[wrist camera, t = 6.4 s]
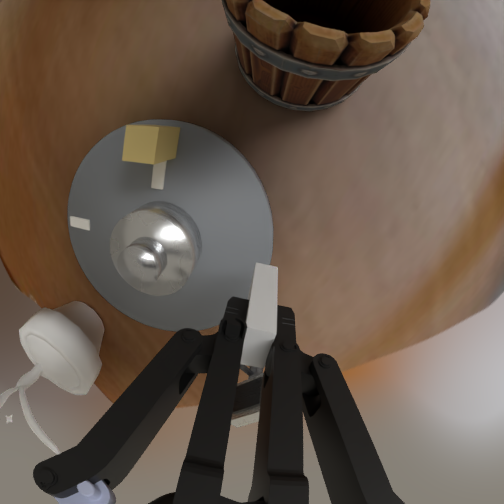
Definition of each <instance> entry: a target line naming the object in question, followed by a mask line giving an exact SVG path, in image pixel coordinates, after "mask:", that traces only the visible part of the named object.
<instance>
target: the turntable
mask: <svg viewBox="0 0 504 504" xmlns="http://www.w3.org/2000/svg"><path fill="white" fill-rule="evenodd" d="M153 201H165V202H169V203H172V204H175V205H177V206H179V207H180V208H182V209H183V210H185V211H186V212H187V213H188V214H189V215H190V216H191V217H192V219H193V220H194V221H195V223H196V225H197V227H198V229H199V231H200V234H201V239H202V252H201V256H200V258H199V261H198V263H197V264H196V266H195V268H194V270H193V271H192V273H191V275H190V277H189V278H188V280H187V282H186V283H185V285H184V286H183V287H182V288H181V289H180V290H178V291H176V292H175V293H172V294H169V295H165V296H153V295H149V294H145V293H143V292H140V291H138V290H137V289H135V288H133V287H132V286H131V285H129V284H128V283H127V282H126V281H125V280H124V279H123V278H122V277H121V275H120V274H119V273H118V271H117V269H116V268H115V266H114V263H113V261H112V257H111V253H110V238H111V234H112V231H113V229H114V227H115V226H116V224H117V223H118V222H119V221H120V220H121V219H122V218H123V217H125V216H126V215H128V214H129V213H131V212H132V211H134V210H136V209H137V208H139V207H140V206H142V205H144V204H146V203H149V202H153ZM68 227H69V234H70V239H71V243H72V246H73V249H74V252H75V255H76V258H77V260H78V262H79V264H80V266H81V268H82V270H83V272H84V273H85V275H86V277H87V278H88V280H89V281H90V282H91V284H92V285H93V286H94V288H95V289H96V290H97V291H98V292H99V293H100V294H101V296H102V297H103V298H105V299H106V300H107V301H108V302H109V303H110V304H111V305H112V306H114V307H115V308H116V309H118V310H119V311H120V312H122V313H124V314H125V315H127V316H128V317H130V318H132V319H134V320H136V321H138V322H140V323H143V324H145V325H148V326H151V327H154V328H158V329H162V330H168V331H179V330H180V329H184V328H191V329H195V330H197V331H198V330H203V329H207V328H211V327H214V326H217V325H219V324H220V321H221V320H222V318H223V317H224V313H225V310H226V306H227V302H228V300H229V299H230V298H231V297H233V296H234V297H238V298H243V299H247V300H248V294H249V290H250V286H251V282H252V278H253V273H254V269H255V265H256V262H257V263H261V264H266V265H270V262H271V257H272V251H273V219H272V211H271V207H270V203H269V200H268V196H267V194H266V191H265V189H264V186H263V184H262V182H261V180H260V178H259V177H258V175H257V173H256V171H255V170H254V168H253V167H252V166H251V164H250V163H249V162H248V160H247V159H246V158H245V157H244V156H243V155H242V154H241V153H240V152H239V151H238V150H237V149H236V148H235V147H234V146H233V145H232V144H231V143H229V142H228V141H227V140H225V139H224V138H222V137H221V136H220V135H218V134H216V133H214V132H212V131H210V130H208V129H206V128H204V127H201V126H198V125H195V124H192V123H188V122H182V121H176V120H154V119H152V120H145V121H138V122H135V123H131V124H128V125H125V126H123V127H121V128H119V129H117V130H115V131H113V132H111V133H110V134H108V135H107V136H105V137H104V138H103V139H101V140H100V141H99V142H98V143H97V144H96V145H95V146H94V147H93V148H92V149H91V150H90V151H89V153H88V154H87V155H86V156H85V158H84V159H83V161H82V163H81V164H80V166H79V168H78V170H77V172H76V174H75V177H74V179H73V182H72V186H71V190H70V194H69V201H68Z"/></svg>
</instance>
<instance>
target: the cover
mask: <svg viewBox="0 0 504 504" xmlns="http://www.w3.org/2000/svg"><path fill="white" fill-rule="evenodd" d="M201 252H202V239H201V234H200V231H199V229H198V227H197V225H196V223H195V221H194V220H193V219H192V217H191V216H190V215H189V214H188V213H187V212H186V211H185V210H183V209H182V208H180V207H179V206H177V205H175V204H172V203H169V202H165V201H153V202H149V203H146V204H144V205H142V206H140V207H139V208H137V209H136V210H134V211H132V212H131V213H129V214H128V215H126V216H125V217H123V218H122V219H121V220H120V221H119V222H118V223H117V224H116V226H115V227H114V229H113V231H112V234H111V238H110V253H111V257H112V261H113V263H114V266H115V268H116V269H117V271H118V273H119V274H120V275H121V277H122V278H123V279H124V280H125V281H126V282H127V283H128V284H129V285H131V286H132V287H133V288H135V289H137V290H138V291H140V292H143V293H145V294H149V295H153V296H165V295H169V294H172V293H175V292H176V291H178V290H180V289H181V288H182V287H183V286H184V285H185V283H186V282H187V280H188V278H189V277H190V275H191V273H192V271H193V270H194V268H195V266H196V264H197V263H198V261H199V258H200V256H201Z"/></svg>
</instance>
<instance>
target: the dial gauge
mask: <svg viewBox="0 0 504 504" xmlns="http://www.w3.org/2000/svg"><path fill="white" fill-rule="evenodd" d="M240 369H241V370H242V371H244V372H245V373H246V374H247V375H249V378H248V380H245V381H243V382H240V383H238V384H237V388H236V394H235V401H234V407H233V413H232V419H231V424H232V425H234V426H235V427H240V426H244V425H247V424H251V423H255V422H258V421H259V413H260V402H261V391H262V384H260V382H261V379H262V377H263V374H264V373H263V368H258V367H253V366H250V369H249V368H248V367H247V366H245V365H243V364H240Z"/></svg>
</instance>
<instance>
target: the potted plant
mask: <svg viewBox="0 0 504 504" xmlns="http://www.w3.org/2000/svg"><path fill="white" fill-rule="evenodd" d="M104 330H105V329H104V326H103V323H102V320H101V319H100V317H99V316H98V315H97V313H96V312H95V311H94V310H93V309H92V308H90V307H89V306H88V305H86V304H85V303H83V302H79V301H73V302H71V303H68V304H66V305H63V306H61V307H58V308H56V309H53V310H51V309H48V308H45V307H44V308H42V309H41V310H39V311H38V312H36V313H35V314H34V315H33V316H32V317H31V318H30V319H29V320H28V321H27V322H26V323H25V324H24V325H23V326H22V327H21V328H20V329H19V335H20V343H21V345H22V347H23V348H24V350H25V352H26V354H27V356H28V358H29V359H30V360H31V361H32V363H33V364H34V365H35V366H34V367H33V369H32V370H31V371H29V372H28V373H26V374H24V375H23V376H21V378H20V379H19V381H18V383H17V385H16V387H14V388H11V389H8V390H6V391H5V392H3V393H2V394H0V408H1V407H2V405H3V404H4V403H5V401H6V400H7V398H8V397H9V396H10V395H11V394H12V393H14V392H15V391H17V390H19V397H20V403H21V407H22V410H23V414H24V417H25V419H26V421H27V423H28V425H29V426H30V428H31V430H32V431H33V432H34V433H35V434H36V436H37V437H38V438H39V439H40V440H41V441H42V442H43V443H44V444H45V445H46V446H47V447H48V448H50V449H51V450H52V451H53V452H55V453H56V454H57V455H58V454H60V453H61V452H60V450H59V449H58V447H57V446H56V445H55V444H54V443H53V442H52V441H51V439H50V438H49V437H48V436H47V435H46V434H45V432H44V431H43V429H42V428H41V427H40V425H39V424H38V422H37V421H36V419H35V418H34V416H33V414H32V411H31V409H30V406H29V403H28V400H27V397H26V394H25V390H26V389H27V388H28V387H29V386H31V385H32V384H33V383H34V382H35V381H37V380H38V378H39V376H42V377H44V378H47V379H49V380H50V381H51V382H53V383H54V384H55V385H57V386H58V387H59V388H61V389H63V390H65V391H67V392H70V393H72V394H74V395H87V393H88V391H89V390H90V388H91V386H92V385H93V383H94V381H95V380H96V378H97V376H98V375H99V372H100V369H101V366H102V362H101V360H100V357H99V352H100V347H101V343H102V338H103V334H104ZM6 417H7V422H6V423H8V422H12V415H11V416H9V417H8V416H6Z"/></svg>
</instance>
